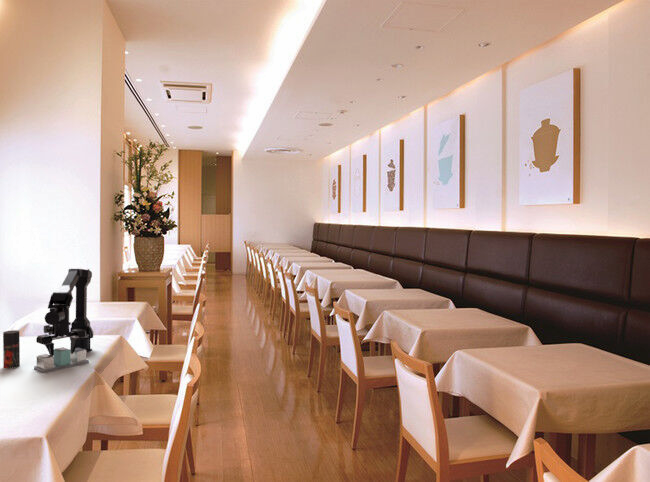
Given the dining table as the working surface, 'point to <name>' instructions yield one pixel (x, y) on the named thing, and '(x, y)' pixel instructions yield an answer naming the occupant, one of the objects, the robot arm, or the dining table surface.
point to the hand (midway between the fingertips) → (62, 355)
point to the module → (62, 356)
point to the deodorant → (11, 349)
